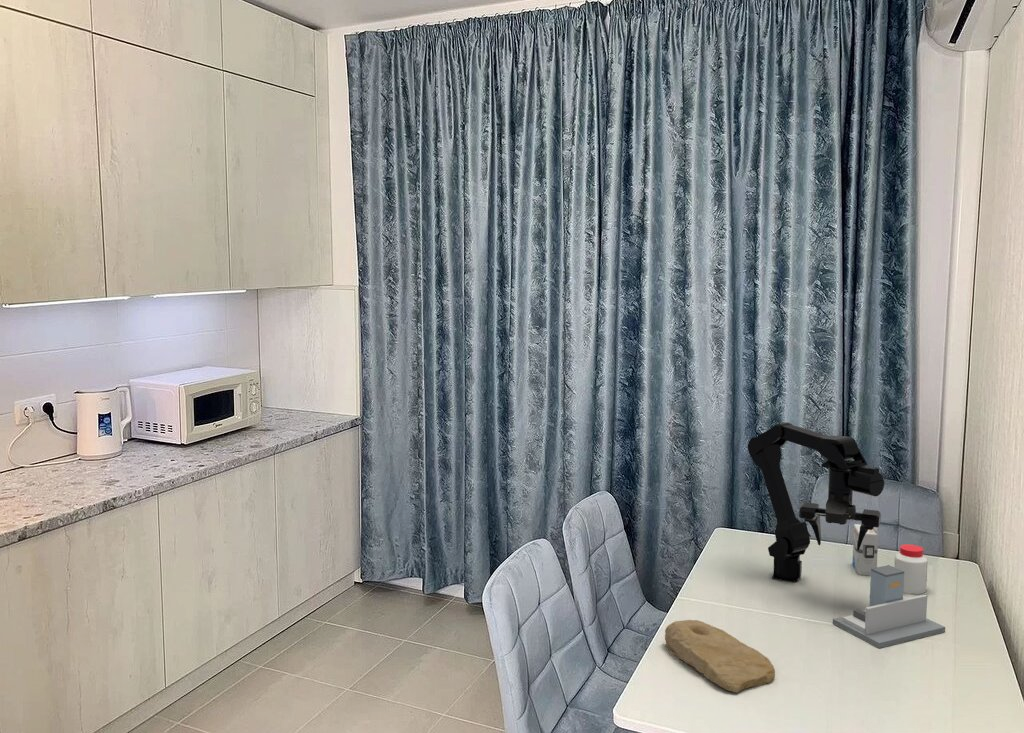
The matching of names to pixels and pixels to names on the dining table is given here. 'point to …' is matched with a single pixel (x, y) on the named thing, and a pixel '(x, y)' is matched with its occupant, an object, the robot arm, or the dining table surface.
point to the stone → (718, 655)
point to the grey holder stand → (891, 622)
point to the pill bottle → (912, 568)
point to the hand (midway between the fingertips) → (838, 547)
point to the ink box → (865, 551)
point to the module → (886, 585)
